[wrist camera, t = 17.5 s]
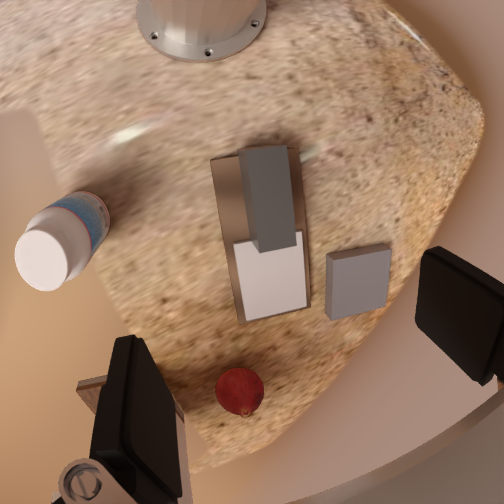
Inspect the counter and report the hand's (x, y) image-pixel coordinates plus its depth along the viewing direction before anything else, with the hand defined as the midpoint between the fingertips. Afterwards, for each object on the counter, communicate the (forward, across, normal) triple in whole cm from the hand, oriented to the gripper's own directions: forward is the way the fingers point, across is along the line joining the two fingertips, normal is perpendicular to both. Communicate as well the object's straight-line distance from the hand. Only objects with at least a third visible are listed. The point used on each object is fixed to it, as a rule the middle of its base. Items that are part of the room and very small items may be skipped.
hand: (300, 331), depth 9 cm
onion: (+23, +3, +23) cm, 32 cm away
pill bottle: (+23, +14, -1) cm, 27 cm away
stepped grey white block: (+22, -4, +5) cm, 23 cm away
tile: (+22, -10, +14) cm, 28 cm away
